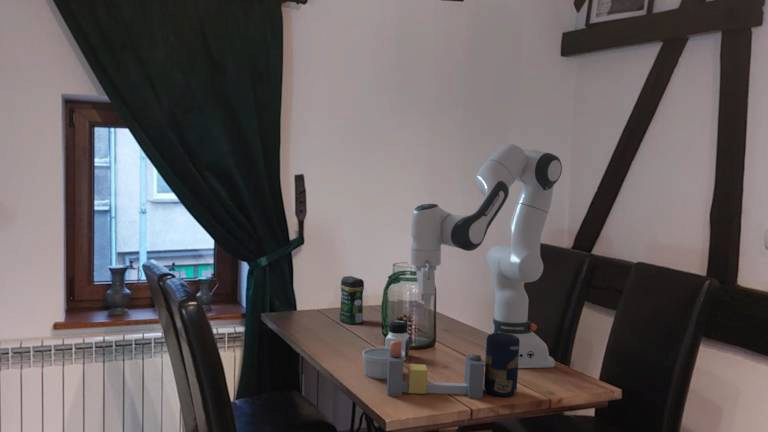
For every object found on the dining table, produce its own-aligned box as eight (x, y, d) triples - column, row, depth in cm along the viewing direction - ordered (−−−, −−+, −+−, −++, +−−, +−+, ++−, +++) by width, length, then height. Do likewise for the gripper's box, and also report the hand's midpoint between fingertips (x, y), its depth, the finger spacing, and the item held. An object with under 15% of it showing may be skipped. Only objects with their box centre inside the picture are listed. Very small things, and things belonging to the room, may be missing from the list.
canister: (498, 385, 213) (501, 326, 212) (523, 394, 206) (526, 333, 205) (476, 391, 207) (480, 331, 206) (502, 400, 200) (505, 338, 199)
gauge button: (400, 354, 206) (401, 340, 206) (401, 357, 203) (402, 343, 202) (390, 353, 206) (390, 340, 206) (390, 356, 203) (390, 343, 202)
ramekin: (375, 365, 229) (376, 344, 228) (411, 373, 222) (412, 351, 222) (353, 375, 218) (354, 353, 217) (390, 384, 211) (391, 361, 210)
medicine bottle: (405, 360, 236) (407, 325, 235) (384, 358, 237) (385, 323, 236) (409, 355, 243) (410, 320, 242) (388, 353, 244) (390, 318, 243)
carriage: (424, 387, 208) (425, 364, 208) (426, 393, 203) (427, 370, 202) (407, 386, 208) (408, 364, 207) (408, 393, 202) (409, 369, 202)
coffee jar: (336, 320, 289) (337, 275, 287) (352, 318, 294) (353, 274, 292) (349, 325, 281) (351, 279, 280) (365, 323, 286) (367, 278, 285)
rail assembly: (477, 388, 210) (479, 351, 209) (482, 398, 201) (484, 360, 200) (387, 385, 210) (388, 348, 209) (387, 395, 201) (389, 357, 200)
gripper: (440, 264, 201) (439, 312, 202) (433, 253, 221) (432, 297, 222) (417, 264, 201) (417, 312, 202) (413, 253, 221) (412, 297, 222)
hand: (425, 304), depth 212 cm, fingers open, 8 cm apart
